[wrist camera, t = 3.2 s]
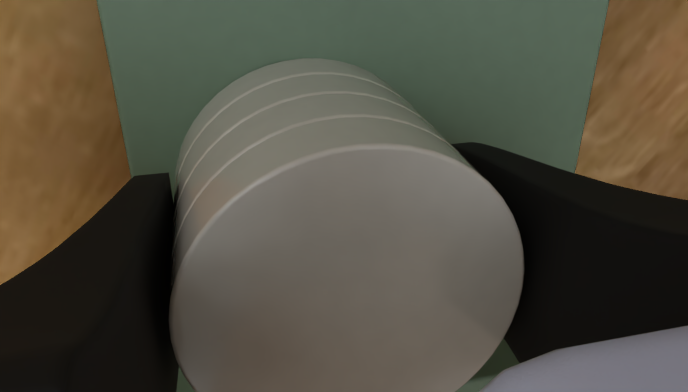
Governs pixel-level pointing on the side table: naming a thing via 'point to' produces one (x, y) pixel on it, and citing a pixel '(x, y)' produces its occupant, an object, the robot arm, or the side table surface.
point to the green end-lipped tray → (372, 55)
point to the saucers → (333, 242)
